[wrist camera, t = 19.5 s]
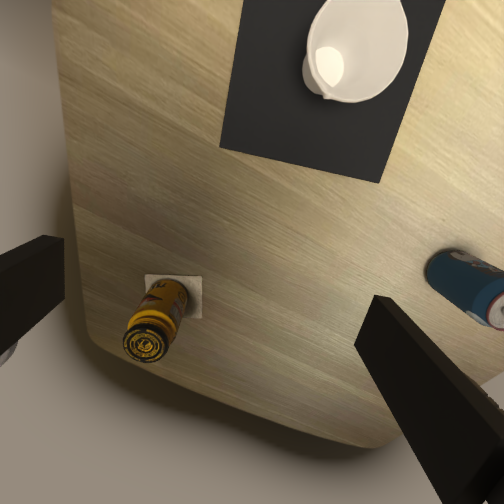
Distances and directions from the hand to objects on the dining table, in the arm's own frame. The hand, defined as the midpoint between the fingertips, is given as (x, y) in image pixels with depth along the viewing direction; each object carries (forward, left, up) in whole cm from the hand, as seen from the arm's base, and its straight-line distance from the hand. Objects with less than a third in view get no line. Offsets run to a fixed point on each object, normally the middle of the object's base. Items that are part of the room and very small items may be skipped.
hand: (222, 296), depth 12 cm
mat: (+8, +16, -29) cm, 34 cm away
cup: (+8, +16, -29) cm, 34 cm away
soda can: (+34, -5, -29) cm, 45 cm away
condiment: (-6, -18, -29) cm, 34 cm away
